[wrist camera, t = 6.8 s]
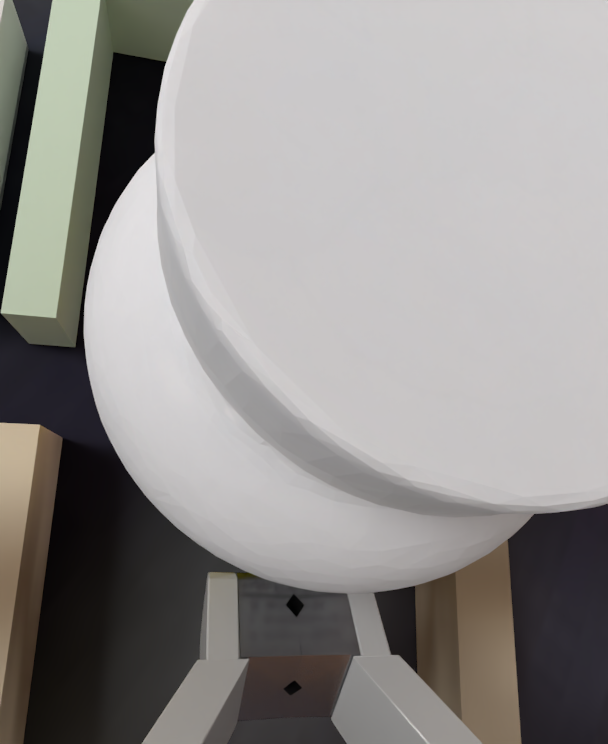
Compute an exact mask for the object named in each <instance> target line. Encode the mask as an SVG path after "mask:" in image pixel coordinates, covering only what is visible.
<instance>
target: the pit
mask: <svg viewBox="0 0 608 744" xmlns="http://www.w3.org/2000/svg"><path fill="white" fill-rule="evenodd" d="M28 50H29V49H28V46H27V43H26V40H25V37H24V34H23V31H22V28H21V25H20V22H19V19H18V16H17V13H16V10H15V7H14V4H13V1H12V0H0V210H1V204H2V198H3V193H4V187H5V181H6V176H7V170H8V164H9V159H10V153H11V147H12V141H13V136H14V130H15V124H16V119H17V113H18V107H19V101H20V96H21V90H22V84H23V79H24V73H25V67H26V62H27V56H28Z"/></svg>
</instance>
